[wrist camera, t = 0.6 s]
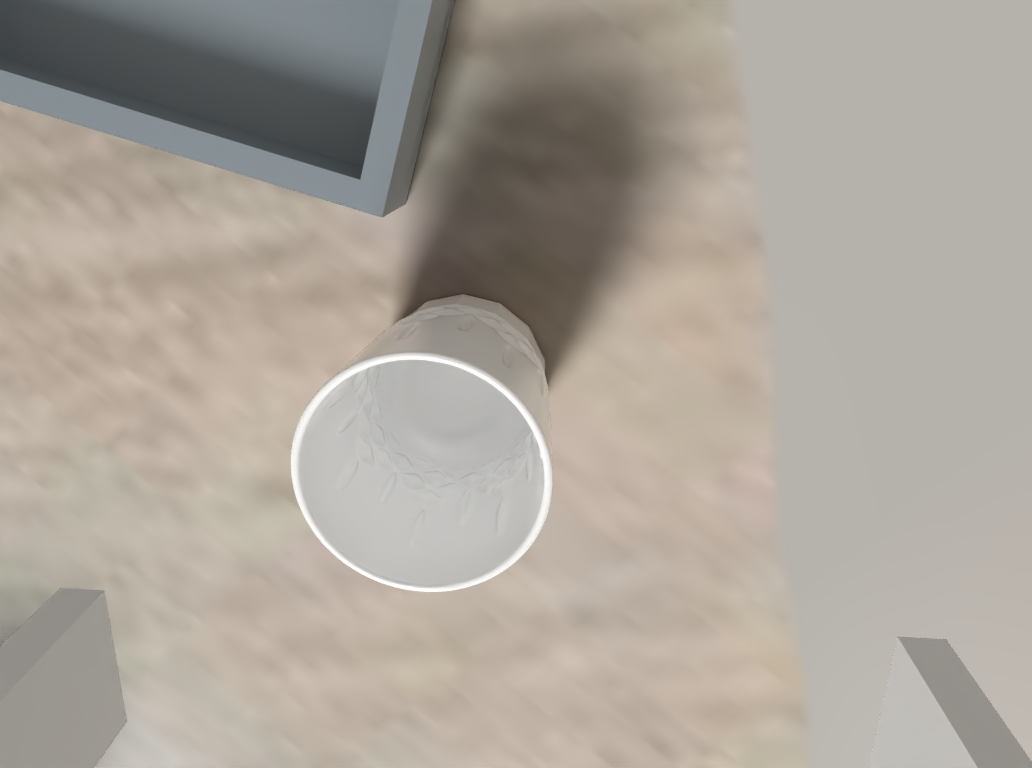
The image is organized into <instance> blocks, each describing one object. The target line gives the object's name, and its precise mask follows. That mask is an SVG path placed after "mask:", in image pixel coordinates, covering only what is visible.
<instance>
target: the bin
mask: <svg viewBox="0 0 1032 768" xmlns="http://www.w3.org/2000/svg"><path fill="white" fill-rule="evenodd" d="M454 1H455V0H0V101H2V102H6V103H9V104H12V105H16V106H19V107H22V108H25V109H29V110H32V111H35V112H38V113H42V114H45V115H48V116H52V117H55V118H58V119H61V120H65V121H68V122H71V123H75V124H78V125H81V126H84V127H88V128H91V129H94V130H97V131H101V132H104V133H107V134H111V135H114V136H117V137H120V138H124V139H127V140H130V141H133V142H137V143H140V144H143V145H147V146H150V147H153V148H156V149H160V150H163V151H166V152H169V153H173V154H176V155H179V156H183V157H186V158H189V159H192V160H196V161H199V162H202V163H205V164H209V165H212V166H215V167H219V168H222V169H225V170H228V171H232V172H235V173H238V174H241V175H245V176H248V177H251V178H255V179H258V180H261V181H264V182H268V183H271V184H274V185H277V186H281V187H284V188H287V189H291V190H294V191H297V192H300V193H304V194H307V195H310V196H314V197H317V198H320V199H323V200H327V201H330V202H333V203H336V204H340V205H343V206H346V207H350V208H353V209H356V210H359V211H363V212H366V213H369V214H372V215H376V216H379V217H384V216H386V215H387V214H389V213H391V212H392V211H394V210H396V209H398V208H399V207H401V206H403V205H404V204H406V201H407V196H408V192H409V188H410V184H411V180H412V176H413V171H414V167H415V163H416V159H417V155H418V151H419V147H420V142H421V138H422V134H423V130H424V126H425V122H426V117H427V113H428V109H429V105H430V101H431V97H432V92H433V88H434V84H435V80H436V76H437V72H438V67H439V63H440V59H441V55H442V51H443V47H444V42H445V38H446V34H447V30H448V26H449V22H450V18H451V13H452V9H453V5H454Z"/></svg>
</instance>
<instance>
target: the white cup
mask: <svg viewBox="0 0 1032 768" xmlns="http://www.w3.org/2000/svg"><path fill="white" fill-rule="evenodd" d="M551 429H552V424H551V412H550V401H549V390H548V385H547V381H546V377H545V359H544V357H543V355H542V353H541V351H540V349H539V347H538V345H537V342H536V340H535V338H534V336H533V334H532V332H531V330H530V328H529V326H527V325H526V324H525V323H524V322H523V321H521V320H520V319H519V318H518V317H516V316H515V315H514V314H513V313H511V312H510V311H509V310H508V309H507V308H505V307H504V306H503V305H502V304H500V303H497V302H493V301H489V300H485V299H481V298H477V297H473V296H469V295H465V294H461V295H456V296H451V297H446V298H441V299H436V300H431V301H427V302H425V303H424V304H423V305H421V306H420V307H419V308H418V309H416V310H415V311H414V312H412V313H411V314H410V315H408V316H407V317H406V318H403V319H401V320H399V321H398V322H396V323H395V324H393V325H392V326H391V327H390V328H389V329H387V330H386V331H384V332H383V333H382V334H381V335H379V336H378V337H377V338H376V339H375V340H374V341H372V342H371V343H370V344H369V345H368V346H367V347H366V348H365V349H364V350H362V351H361V352H360V353H359V354H358V355H357V356H356V357H355V358H354V359H353V360H352V361H351V362H349V363H348V364H347V365H346V366H345V367H344V368H343V369H342V370H341V371H339V372H338V373H337V374H336V375H335V376H334V377H333V378H332V379H330V380H329V381H328V382H327V383H326V384H325V385H324V386H323V387H322V388H321V389H320V390H319V391H318V392H317V393H316V395H315V396H314V397H313V398H312V400H311V401H310V402H309V404H308V406H307V407H306V409H305V411H304V412H303V414H302V416H301V418H300V421H299V423H298V426H297V429H296V432H295V435H294V439H293V444H292V451H291V474H292V482H293V487H294V491H295V495H296V498H297V501H298V504H299V506H300V509H301V511H302V513H303V515H304V517H305V519H306V521H307V522H308V524H309V526H310V527H311V529H312V530H313V532H314V533H315V534H316V536H317V537H318V538H319V540H320V541H321V542H322V543H323V544H324V545H325V546H326V547H327V548H328V549H329V550H330V551H331V552H332V553H333V554H334V555H335V556H336V557H337V558H339V559H340V560H341V561H342V562H344V563H345V564H346V565H348V566H349V567H351V568H352V569H354V570H356V571H357V572H359V573H361V574H363V575H365V576H366V577H369V578H371V579H373V580H375V581H378V582H380V583H383V584H386V585H389V586H393V587H397V588H401V589H406V590H412V591H422V592H440V591H450V590H457V589H462V588H466V587H469V586H473V585H476V584H478V583H481V582H484V581H486V580H488V579H490V578H492V577H494V576H496V575H498V574H499V573H501V572H502V571H504V570H505V569H507V568H508V567H510V566H511V565H512V564H513V563H515V562H516V561H517V560H518V559H519V558H520V557H521V556H522V555H523V554H524V553H525V552H526V551H527V550H528V548H529V547H530V546H531V545H532V543H533V542H534V540H535V539H536V537H537V536H538V534H539V532H540V530H541V528H542V526H543V524H544V522H545V520H546V517H547V514H548V511H549V507H550V503H551V498H552V490H553V467H552V434H551Z"/></svg>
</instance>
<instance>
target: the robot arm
mask: <svg viewBox="0 0 1032 768" xmlns="http://www.w3.org/2000/svg"><path fill="white" fill-rule="evenodd" d="M126 722H127V719H126V713H125V707H124V702H123V696H122V690H121V684H120V679H119V673H118V667H117V661H116V655H115V650H114V644H113V638H112V632H111V626H110V621H109V615H108V609H107V603H106V598H105V592H104V591H100V590H83V589H65V588H60V589H59V590H58V591H57V592H56V593H55V594H54V595H53V596H52V597H51V598H50V599H49V600H48V601H47V602H46V603H45V604H43V605H42V606H41V607H40V608H39V609H38V610H37V611H36V612H35V613H34V614H33V615H32V616H31V617H30V618H29V619H28V620H27V621H26V622H25V623H24V624H23V625H22V626H21V627H20V628H18V629H17V630H16V631H15V632H14V633H13V634H12V635H11V636H10V637H9V638H8V639H7V640H6V641H5V642H4V643H3V644H2V645H1V646H0V768H94V767H95V766H96V764H97V763H98V761H99V760H100V759H101V757H102V756H103V754H104V753H105V751H106V750H107V749H108V747H109V746H110V744H111V743H112V742H113V740H114V739H115V737H116V736H117V735H118V733H119V732H120V730H121V729H122V728H123V726H124V725H125V723H126ZM869 768H1032V761H1031V760H1030V758H1029V757H1028V756H1027V754H1026V753H1025V751H1024V750H1023V748H1022V747H1021V746H1020V744H1019V743H1018V742H1017V740H1016V738H1015V737H1014V736H1013V734H1012V733H1011V731H1010V730H1009V729H1008V727H1007V726H1006V724H1005V723H1004V721H1003V720H1002V718H1001V717H1000V716H999V714H998V713H997V711H996V710H995V708H994V707H993V706H992V704H991V703H990V701H989V700H988V698H987V697H986V696H985V694H984V693H983V691H982V690H981V688H980V687H979V686H978V684H977V683H976V681H975V680H974V679H973V677H972V676H971V674H970V673H969V671H968V670H967V668H966V667H965V665H964V664H963V663H962V661H961V660H960V658H959V657H958V655H957V654H956V653H955V651H954V650H953V648H952V647H951V646H950V644H949V643H948V641H947V640H946V639H927V638H911V637H897V642H896V646H895V651H894V655H893V660H892V664H891V669H890V674H889V678H888V683H887V687H886V692H885V696H884V701H883V706H882V710H881V715H880V719H879V724H878V728H877V733H876V738H875V742H874V747H873V751H872V756H871V761H870V765H869Z"/></svg>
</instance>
